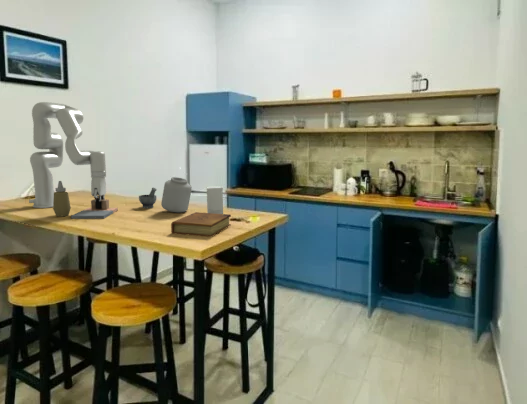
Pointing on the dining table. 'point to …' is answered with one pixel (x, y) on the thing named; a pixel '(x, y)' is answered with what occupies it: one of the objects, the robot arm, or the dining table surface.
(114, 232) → the dining table surface
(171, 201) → the jar
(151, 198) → the mortar and pestle
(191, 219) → the diary
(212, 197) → the skincare box
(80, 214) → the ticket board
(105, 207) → the stub
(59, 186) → the squeeze bottle
